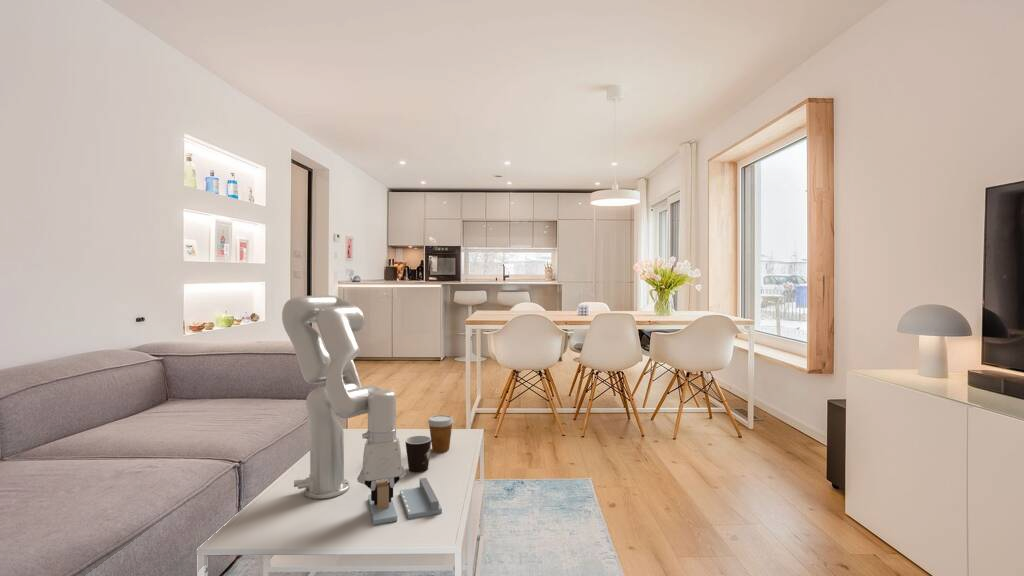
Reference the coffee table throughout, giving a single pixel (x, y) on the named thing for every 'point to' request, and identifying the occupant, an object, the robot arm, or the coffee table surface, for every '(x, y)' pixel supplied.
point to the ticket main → (420, 500)
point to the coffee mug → (418, 453)
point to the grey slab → (382, 504)
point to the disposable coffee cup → (440, 432)
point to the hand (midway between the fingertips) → (382, 501)
